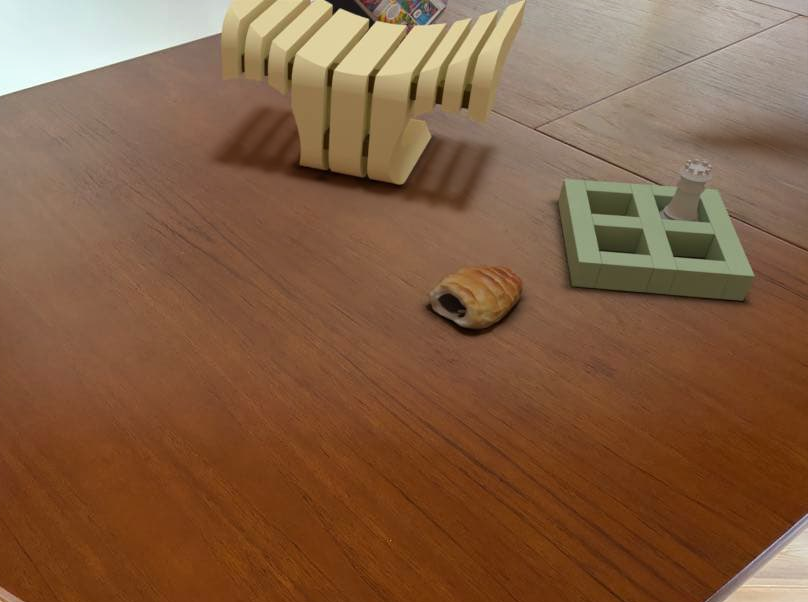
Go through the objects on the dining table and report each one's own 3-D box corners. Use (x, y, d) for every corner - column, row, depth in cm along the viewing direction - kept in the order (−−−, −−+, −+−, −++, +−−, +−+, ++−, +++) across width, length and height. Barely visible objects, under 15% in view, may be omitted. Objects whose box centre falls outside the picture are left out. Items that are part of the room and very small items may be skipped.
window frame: (708, 213, 96) (717, 189, 94) (743, 301, 84) (755, 276, 82) (557, 202, 98) (564, 178, 96) (571, 286, 86) (578, 261, 84)
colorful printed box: (432, -4, 133) (384, -112, 121) (501, 41, 117) (454, -77, 105) (325, 79, 136) (268, -18, 124) (379, 133, 121) (319, 29, 109)
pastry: (485, 271, 88) (492, 240, 85) (538, 303, 84) (547, 271, 82) (421, 306, 84) (426, 274, 81) (473, 341, 80) (480, 309, 77)
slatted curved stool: (226, 162, 105) (219, 11, 93) (275, 109, 116) (275, -34, 103) (468, 210, 97) (496, 51, 84) (497, 148, 107) (526, -2, 95)
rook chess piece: (650, 239, 92) (674, 171, 87) (652, 218, 95) (676, 151, 90) (694, 247, 91) (722, 179, 86) (695, 225, 94) (722, 158, 89)
